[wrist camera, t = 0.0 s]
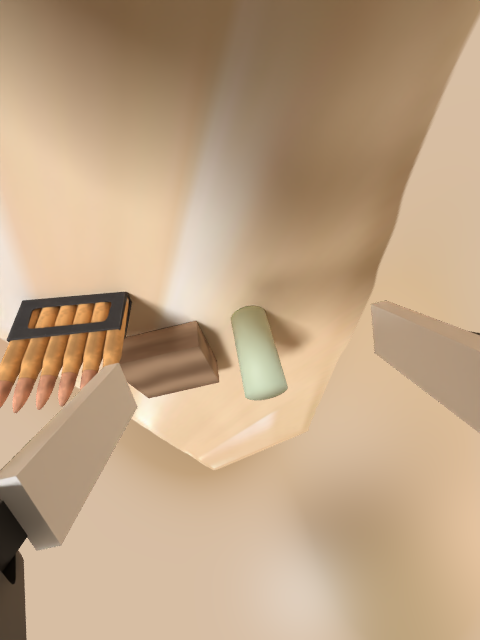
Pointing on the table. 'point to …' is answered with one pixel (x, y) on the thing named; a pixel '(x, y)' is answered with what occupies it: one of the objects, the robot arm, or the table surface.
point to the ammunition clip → (62, 344)
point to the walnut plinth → (168, 360)
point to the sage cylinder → (257, 354)
